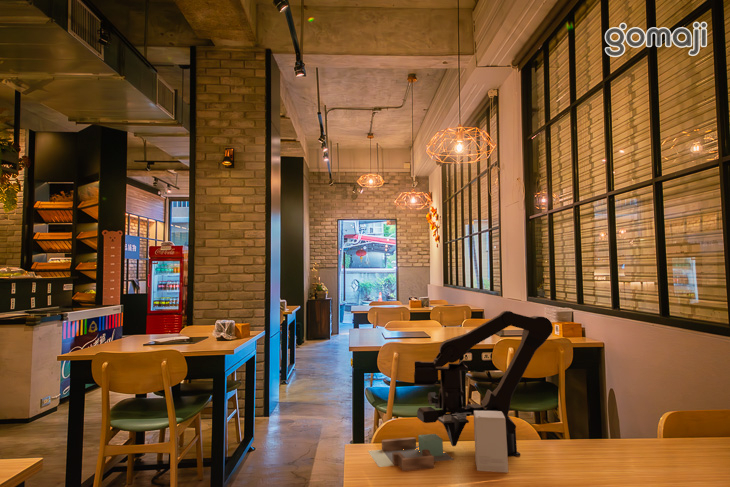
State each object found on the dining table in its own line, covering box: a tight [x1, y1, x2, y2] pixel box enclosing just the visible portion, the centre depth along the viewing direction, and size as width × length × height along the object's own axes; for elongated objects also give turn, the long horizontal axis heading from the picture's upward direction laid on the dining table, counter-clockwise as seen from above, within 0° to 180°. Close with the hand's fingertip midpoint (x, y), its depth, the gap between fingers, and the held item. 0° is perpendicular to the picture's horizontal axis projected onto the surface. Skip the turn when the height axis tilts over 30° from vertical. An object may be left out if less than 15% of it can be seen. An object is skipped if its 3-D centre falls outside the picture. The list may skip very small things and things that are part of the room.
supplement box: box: [473, 411, 509, 473], centre depth 106 cm, size 7×7×13 cm
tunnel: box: [381, 436, 435, 472], centre depth 112 cm, size 10×16×3 cm, turn 13°
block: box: [417, 433, 444, 456], centre depth 115 cm, size 5×5×4 cm
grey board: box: [367, 445, 455, 468], centre depth 114 cm, size 20×12×1 cm, turn 103°
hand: (453, 445), depth 117 cm, fingers closed
